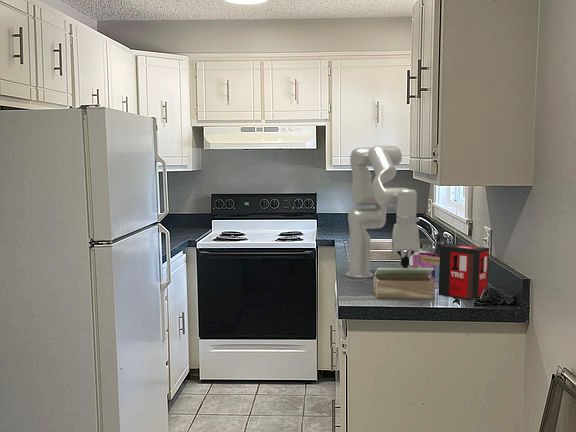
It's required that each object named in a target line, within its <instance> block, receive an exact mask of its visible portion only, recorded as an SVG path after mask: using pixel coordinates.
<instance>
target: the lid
mask: <svg viewBox="0 0 576 432" xmlns="http://www.w3.org/2000/svg"><path fill="white" fill-rule="evenodd" d="M432 271H433V268H413V267H408V268H406V267H405V268H403V267H377V269H376V270H375V272H374V273H373V277H374V276H428V275H429V274H430V273H431V272H432Z"/></svg>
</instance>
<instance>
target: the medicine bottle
mask: <svg viewBox="0 0 576 432" xmlns="http://www.w3.org/2000/svg"><path fill="white" fill-rule="evenodd" d="M419 252H423V253H426V251H425V250H423V242H422V241H419ZM419 252H418V253H419ZM418 253H414V254H415V255H418ZM410 265H411V266H412V267H413V255H411V257H410V258H409V265H408V266H410Z"/></svg>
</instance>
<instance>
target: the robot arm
mask: <svg viewBox="0 0 576 432" xmlns="http://www.w3.org/2000/svg"><path fill="white" fill-rule="evenodd" d="M402 159H403V154H402V151H401V149H400V148H399V147H398V146H397V145H375V146H373V147H356V148H354V149H353V150H352V151H351V154H350V157H349V165H350V168H351V172H352V173H351V174H352V188H351V189H352V191H351V193H352V195H351V197H352V202H353V204H354V205H357V206H373V207H357V208H353V209H351V210H350V211H349V213H348V214H347V215H348V216H347V218H348V219H347V220H348V226H349V227H348V228H349V266H348V267H349V269H348V270H349V271H346V273H345V276H347V277H348V278H354V279H368V278H373V277H374V273H373V272H371V236H370V234H369V233H368V231H367V230H368V229H381V228H383V227H384V226H385V224H386V222H387V221H386V220H387V207H391V208H392V207H396V223H394V224H393V228H392V235H391V247H392V248H391V252H392V253H395V254H398V255H399V256H400V265H401V266H402V267H401V268H409V266H410V265H409V258H410V257H411V255H413V254H414V253H418V252H419V242H420V233H419V226H418V223H417V222H420V220H421V218H420V217H417V198H418V196H417V195H418V193H417V190H415V189H410V188H407V187H384V184H385V183H387V182H389V181H391V180H393V179H394V177H395V176H396V175H397V168H396V166H398V165H400V163H401V162H402ZM368 167H372V169H373V172H374V173H375V176H374V179H373V181H372V173H371V171H370V170H369V168H368ZM405 251H406V253H405Z"/></svg>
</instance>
